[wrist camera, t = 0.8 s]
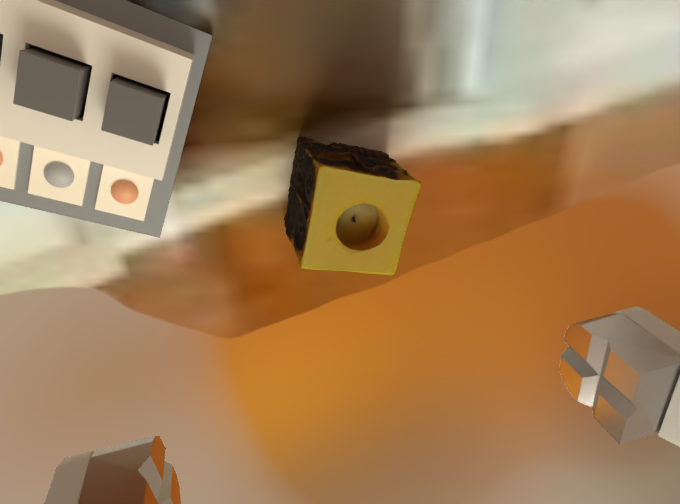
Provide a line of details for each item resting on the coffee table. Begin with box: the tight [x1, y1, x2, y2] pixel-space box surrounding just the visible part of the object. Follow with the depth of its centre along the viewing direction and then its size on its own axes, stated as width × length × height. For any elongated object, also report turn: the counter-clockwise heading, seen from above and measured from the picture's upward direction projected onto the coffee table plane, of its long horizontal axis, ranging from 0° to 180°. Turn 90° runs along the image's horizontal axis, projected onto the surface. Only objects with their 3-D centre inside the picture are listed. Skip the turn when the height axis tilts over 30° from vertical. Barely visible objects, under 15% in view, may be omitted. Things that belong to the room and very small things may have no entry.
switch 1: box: [13, 47, 92, 121], centre depth 34 cm, size 4×4×6 cm
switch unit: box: [0, 0, 212, 238], centre depth 37 cm, size 20×19×7 cm
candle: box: [284, 137, 421, 275], centre depth 45 cm, size 10×10×10 cm
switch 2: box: [101, 76, 169, 146], centre depth 36 cm, size 4×4×6 cm
